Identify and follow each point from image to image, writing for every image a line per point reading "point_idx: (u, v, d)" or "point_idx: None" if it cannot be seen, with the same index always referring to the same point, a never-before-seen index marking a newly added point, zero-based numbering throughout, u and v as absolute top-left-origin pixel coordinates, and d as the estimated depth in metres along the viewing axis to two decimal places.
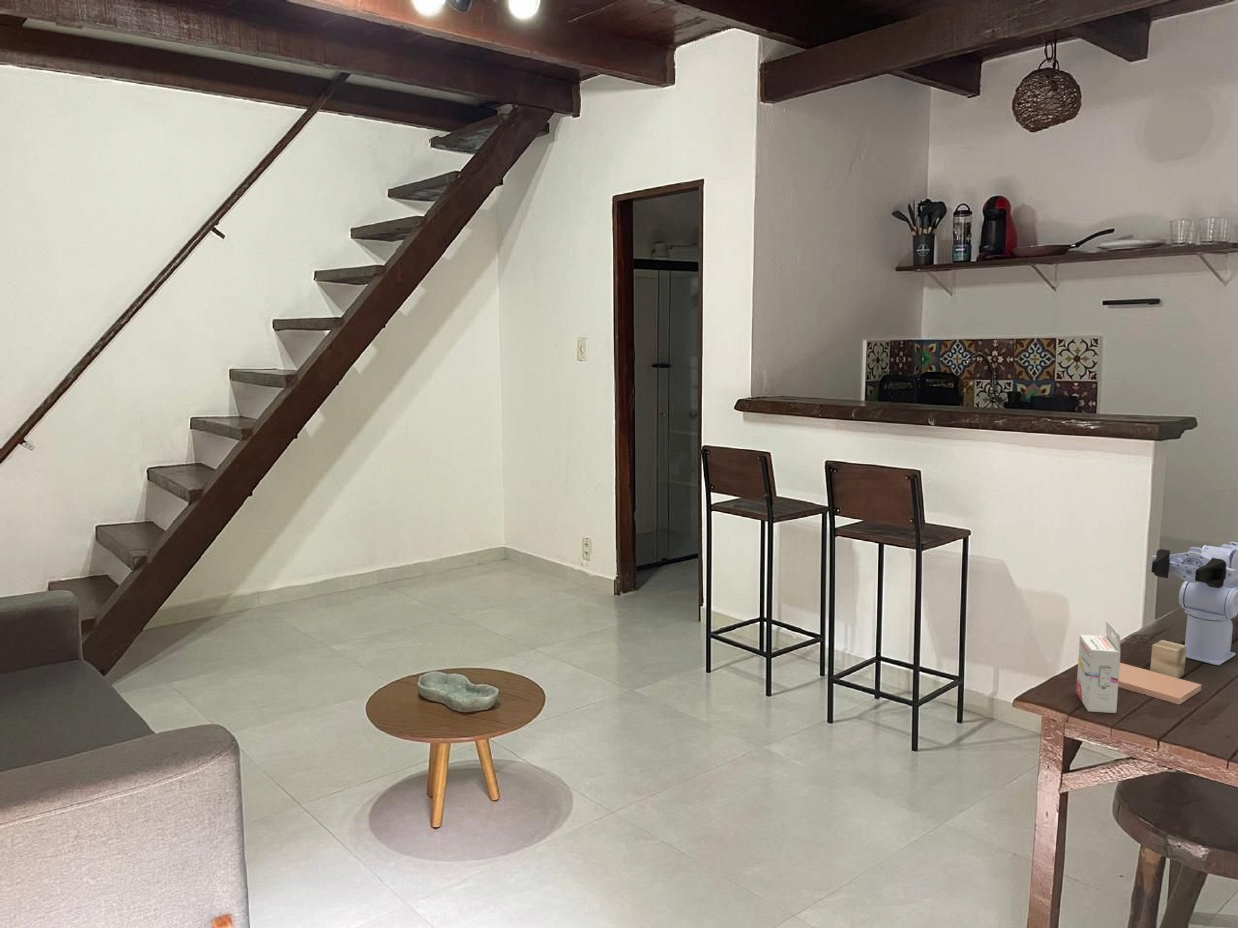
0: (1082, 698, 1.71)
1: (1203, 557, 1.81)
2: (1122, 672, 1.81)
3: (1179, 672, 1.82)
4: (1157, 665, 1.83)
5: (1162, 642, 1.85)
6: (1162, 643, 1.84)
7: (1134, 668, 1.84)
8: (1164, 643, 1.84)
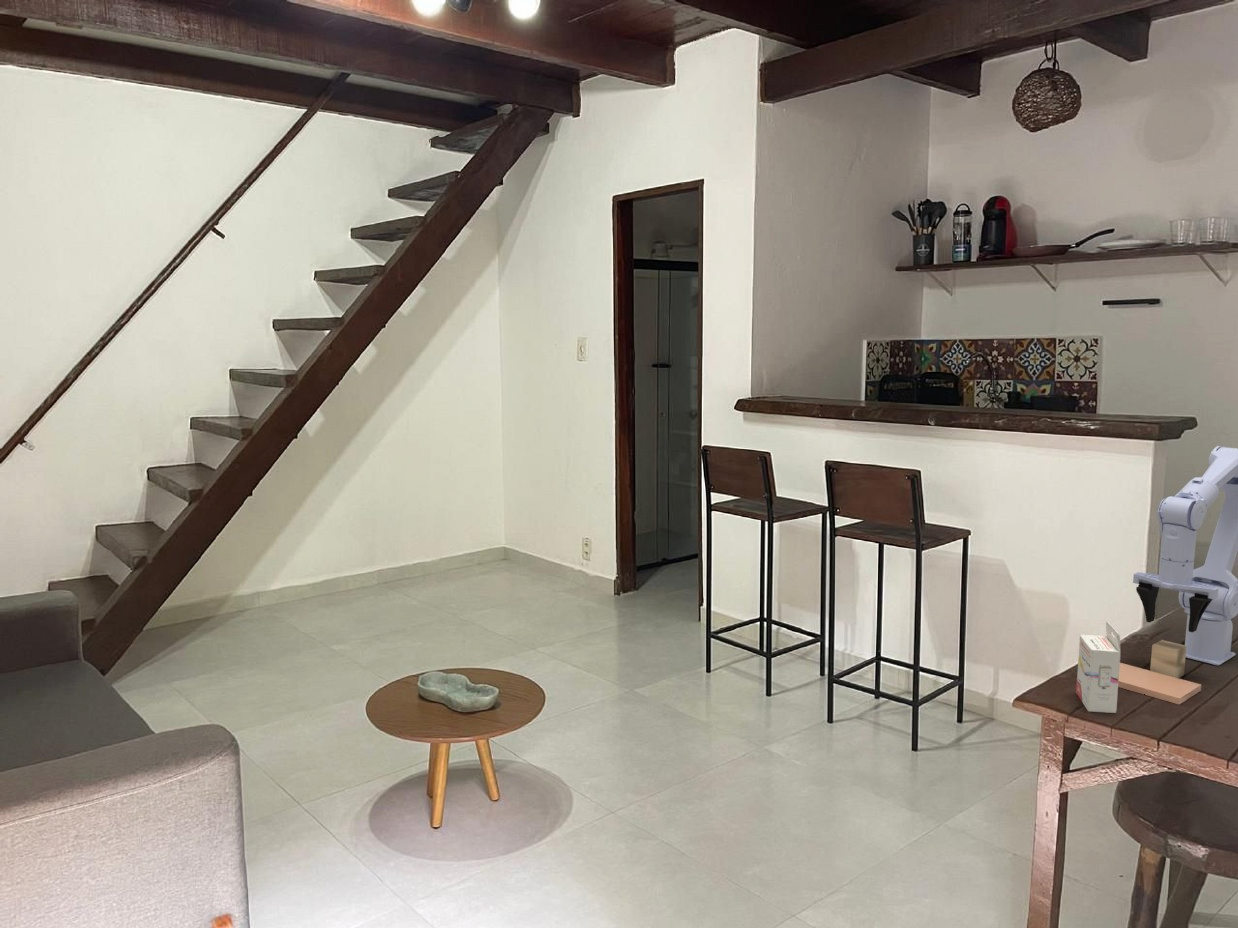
0: (1082, 698, 1.71)
1: None
2: (1122, 672, 1.81)
3: (1179, 672, 1.82)
4: (1157, 665, 1.83)
5: (1162, 642, 1.85)
6: (1162, 643, 1.84)
7: (1134, 668, 1.84)
8: (1164, 643, 1.84)
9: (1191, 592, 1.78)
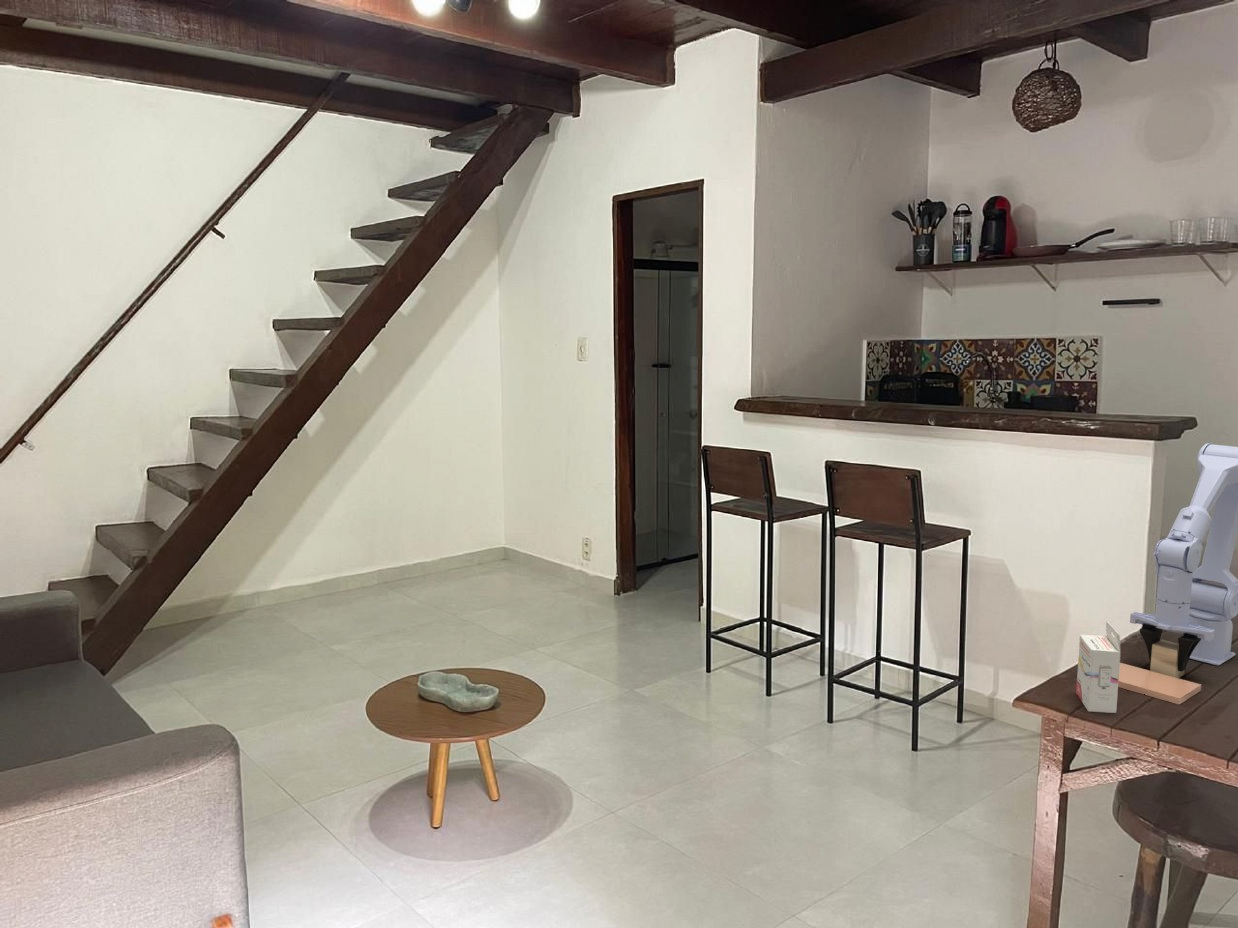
0: (1082, 698, 1.71)
1: None
2: (1122, 672, 1.81)
3: (1179, 672, 1.82)
4: (1157, 664, 1.83)
5: (1162, 641, 1.85)
6: (1162, 643, 1.84)
7: (1134, 668, 1.84)
8: (1164, 642, 1.84)
9: (1187, 633, 1.80)
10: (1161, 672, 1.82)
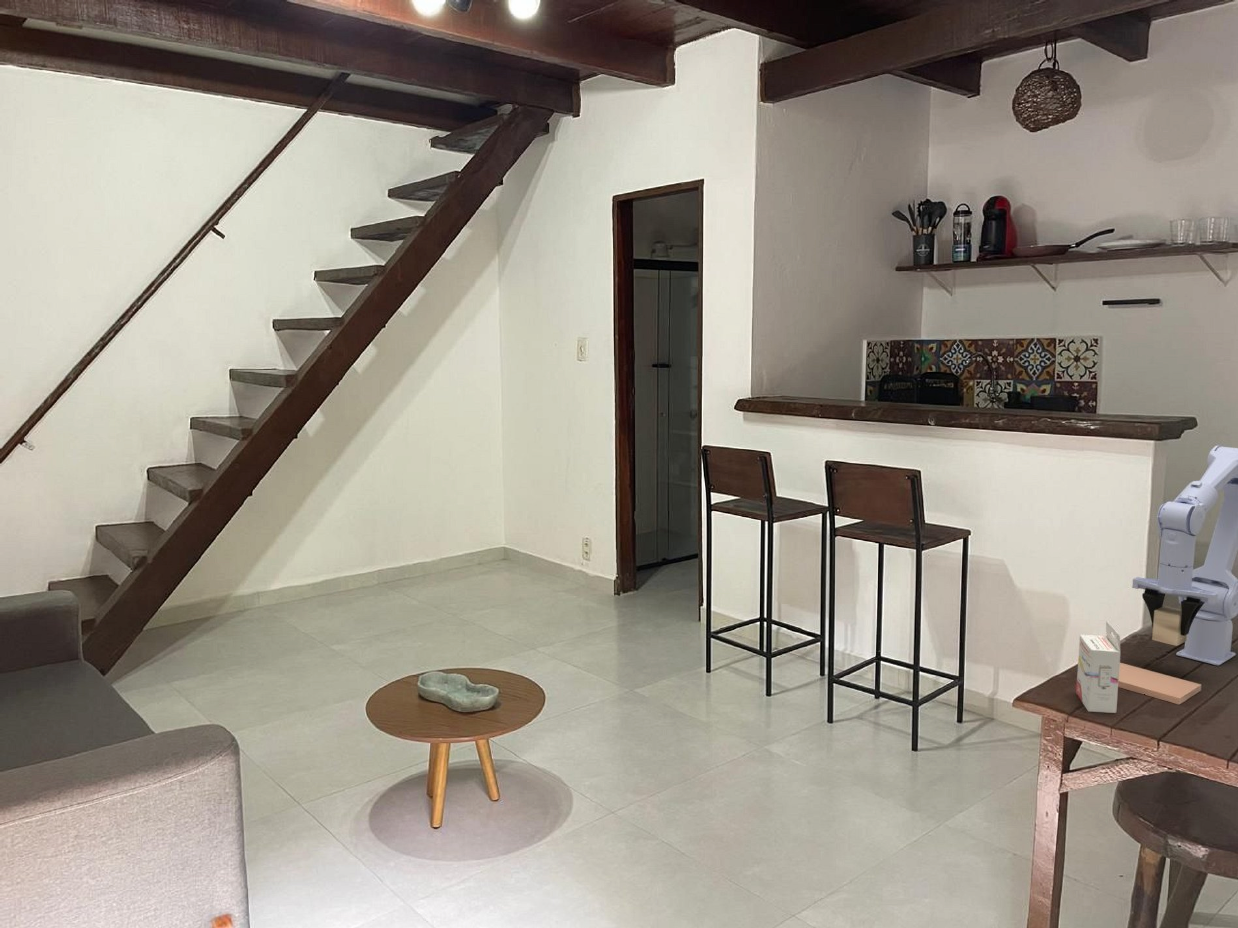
0: (1082, 698, 1.71)
1: None
2: (1122, 672, 1.81)
3: (1181, 637, 1.80)
4: (1159, 630, 1.81)
5: (1164, 607, 1.83)
6: (1164, 609, 1.82)
7: (1134, 668, 1.84)
8: (1167, 608, 1.83)
9: (1190, 597, 1.78)
10: (1163, 638, 1.81)
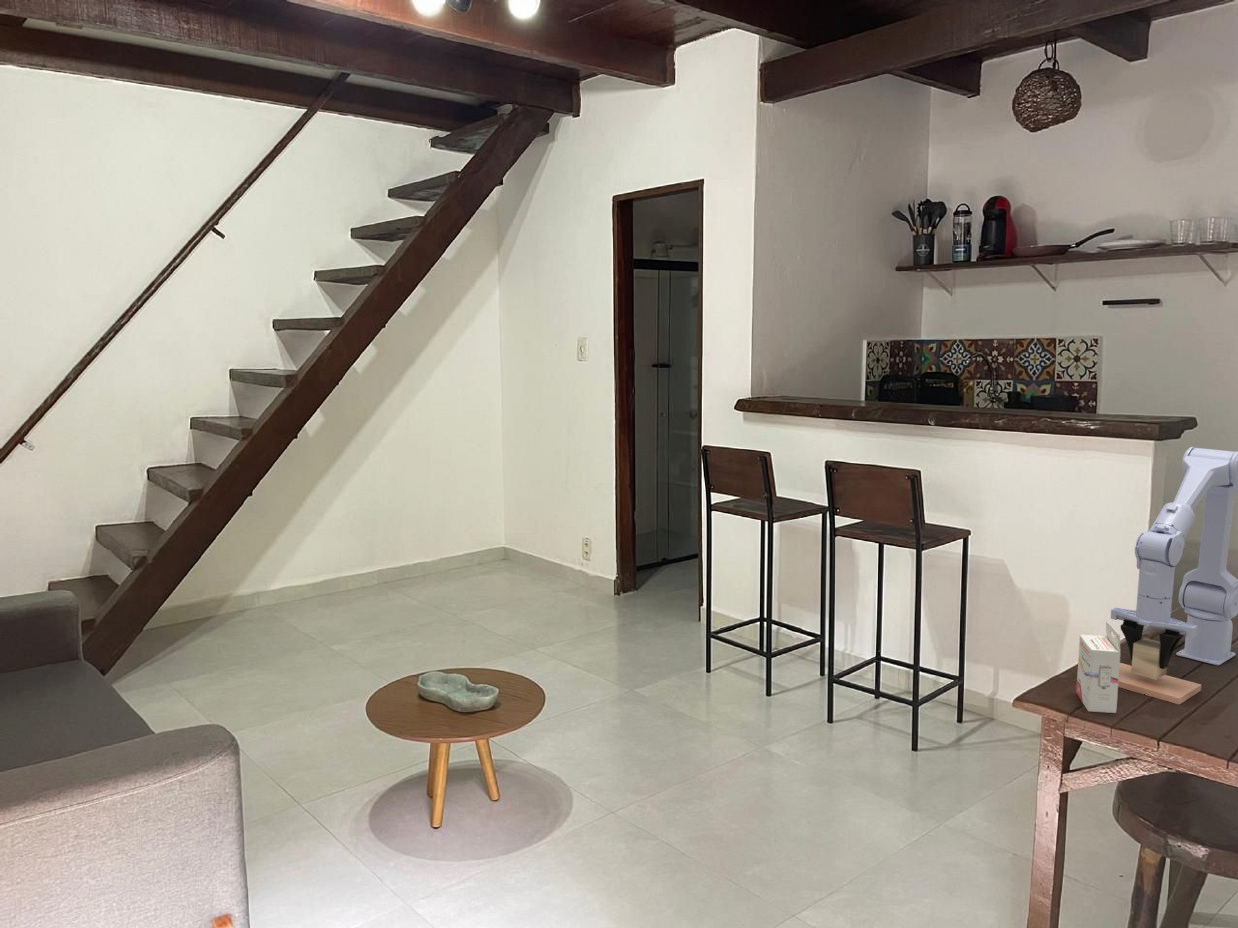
0: (1082, 698, 1.71)
1: None
2: (1122, 672, 1.81)
3: (1161, 671, 1.76)
4: (1138, 663, 1.77)
5: (1144, 640, 1.79)
6: (1143, 641, 1.78)
7: None
8: (1146, 641, 1.78)
9: (1169, 630, 1.74)
10: (1142, 671, 1.77)
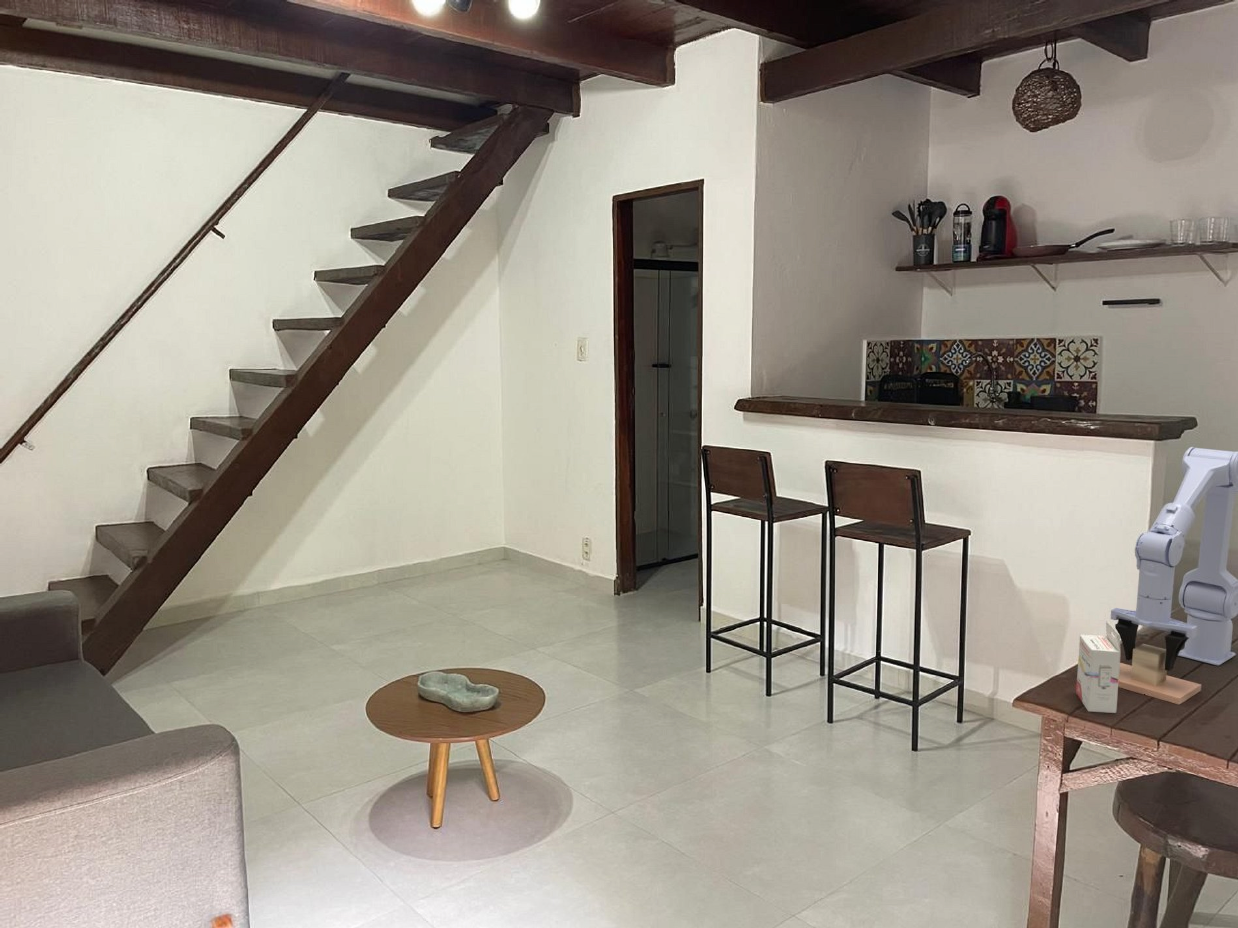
0: (1082, 698, 1.71)
1: None
2: (1122, 672, 1.81)
3: (1161, 677, 1.76)
4: (1138, 669, 1.77)
5: (1144, 645, 1.79)
6: (1143, 647, 1.78)
7: None
8: (1146, 647, 1.78)
9: (1169, 630, 1.74)
10: (1142, 677, 1.77)
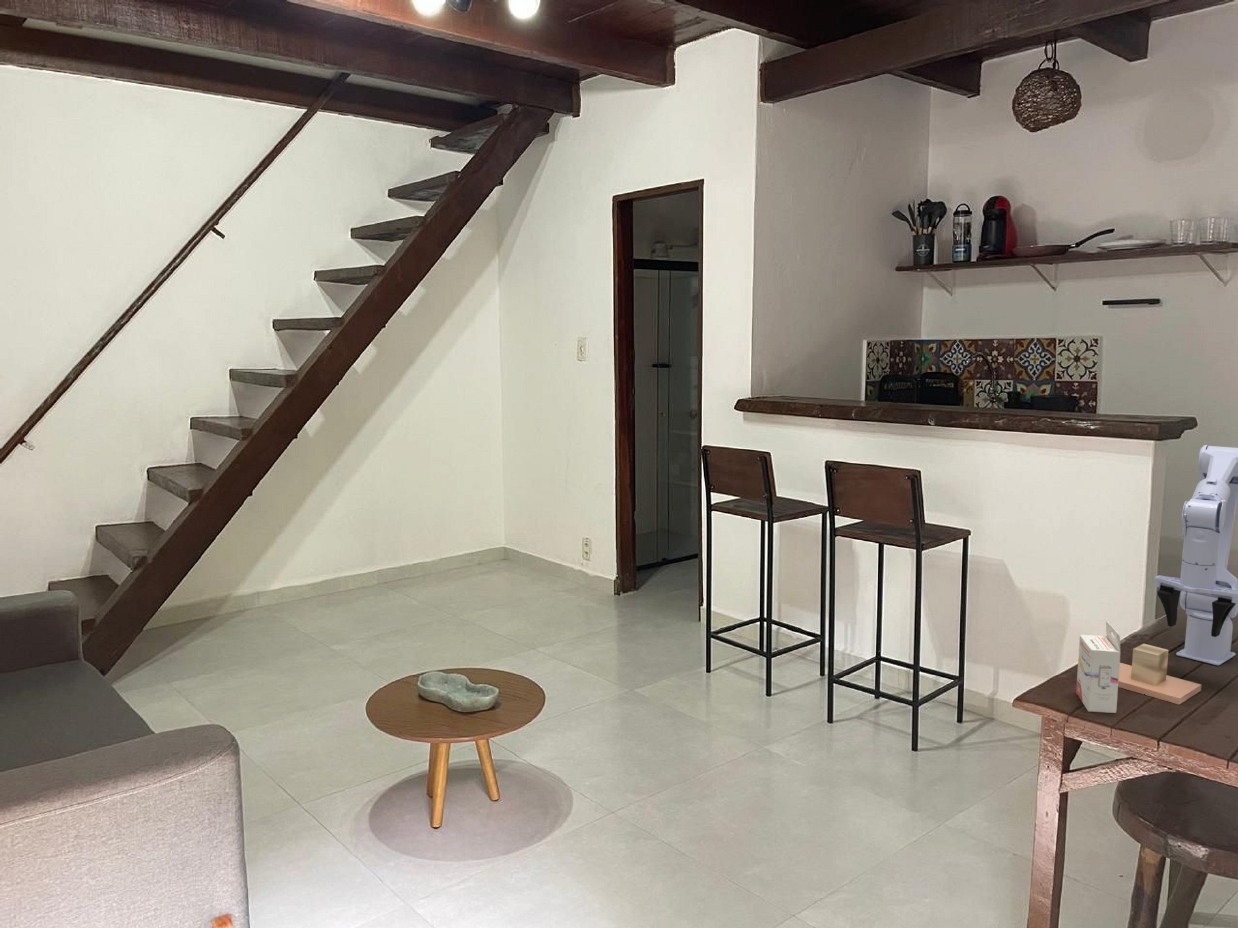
0: (1082, 698, 1.71)
1: None
2: (1122, 672, 1.81)
3: (1161, 677, 1.76)
4: (1138, 669, 1.77)
5: (1144, 645, 1.79)
6: (1143, 647, 1.78)
7: None
8: (1146, 647, 1.78)
9: (1214, 596, 1.75)
10: (1142, 677, 1.77)
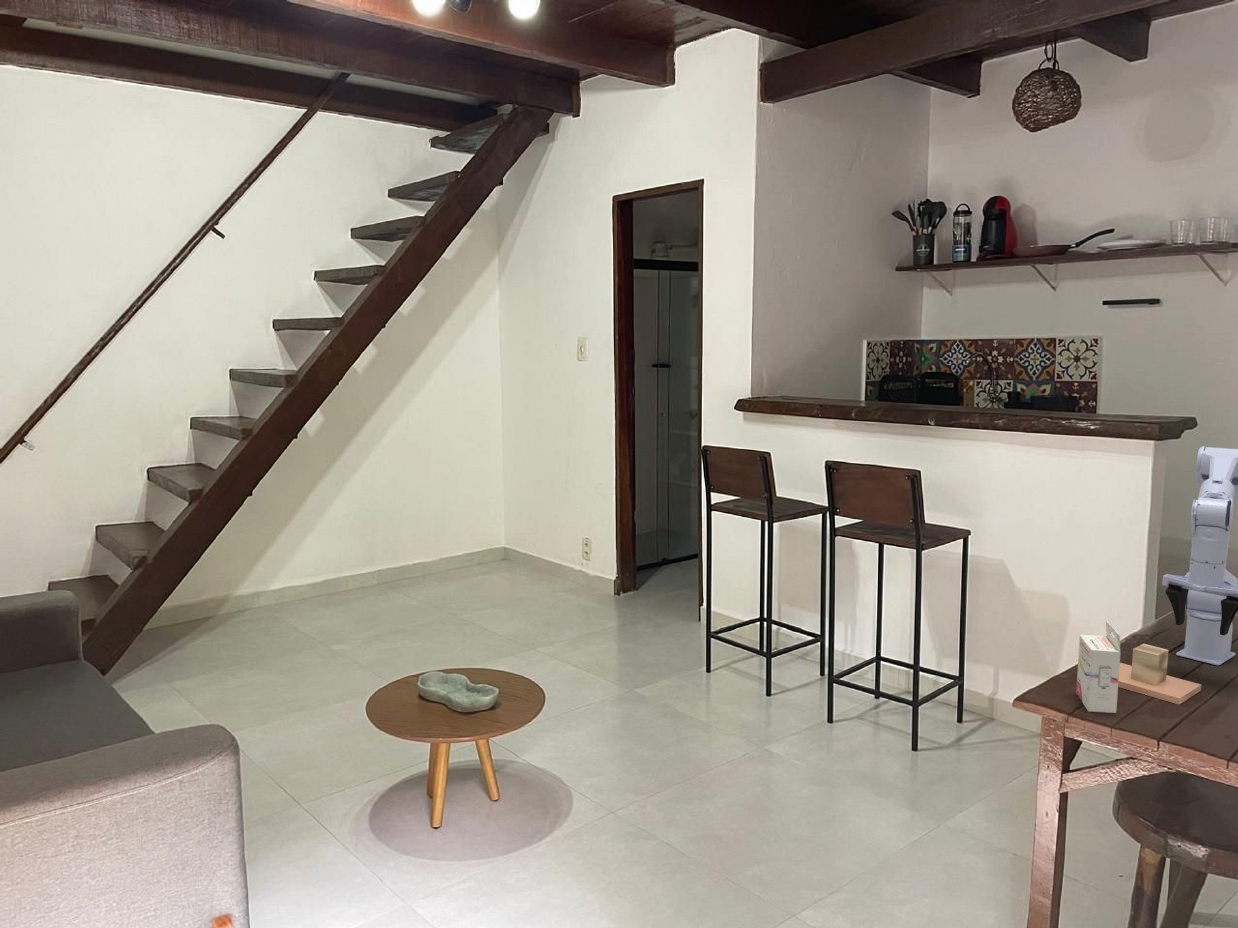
0: (1082, 698, 1.71)
1: None
2: (1122, 672, 1.81)
3: (1161, 677, 1.76)
4: (1138, 669, 1.77)
5: (1144, 645, 1.79)
6: (1143, 647, 1.78)
7: None
8: (1146, 647, 1.78)
9: (1222, 594, 1.75)
10: (1142, 677, 1.77)
